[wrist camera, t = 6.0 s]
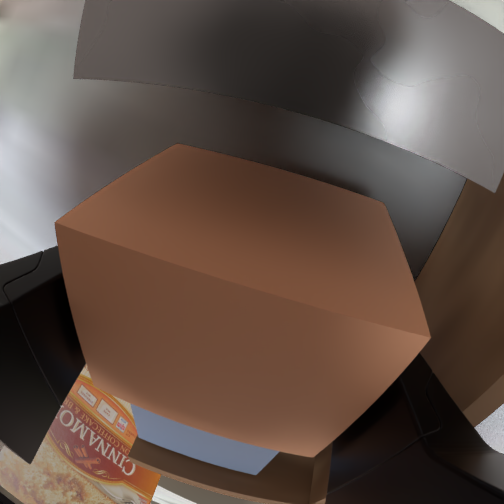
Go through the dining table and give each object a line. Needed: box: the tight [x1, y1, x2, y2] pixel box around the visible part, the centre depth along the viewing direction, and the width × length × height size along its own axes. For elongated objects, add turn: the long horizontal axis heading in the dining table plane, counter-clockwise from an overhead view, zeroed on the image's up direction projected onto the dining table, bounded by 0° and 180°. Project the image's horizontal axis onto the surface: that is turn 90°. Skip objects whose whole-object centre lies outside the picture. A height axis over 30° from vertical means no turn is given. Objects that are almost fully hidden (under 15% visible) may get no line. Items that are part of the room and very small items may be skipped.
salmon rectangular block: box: [55, 143, 431, 458], centre depth 8 cm, size 5×6×5 cm
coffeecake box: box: [0, 364, 161, 504], centre depth 13 cm, size 15×7×20 cm, turn 24°
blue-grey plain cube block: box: [130, 403, 280, 475], centre depth 13 cm, size 5×6×5 cm
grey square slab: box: [73, 0, 504, 193], centre depth 5 cm, size 2×6×6 cm, turn 77°
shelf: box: [128, 173, 504, 504], centre depth 10 cm, size 19×10×6 cm, turn 168°
